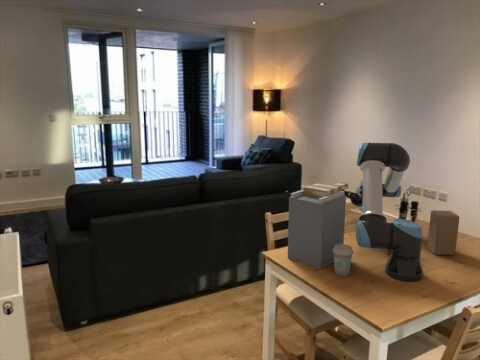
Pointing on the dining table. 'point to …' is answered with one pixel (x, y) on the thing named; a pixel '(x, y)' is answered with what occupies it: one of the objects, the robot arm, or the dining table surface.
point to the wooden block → (443, 232)
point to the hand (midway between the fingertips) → (344, 187)
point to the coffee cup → (342, 259)
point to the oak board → (323, 189)
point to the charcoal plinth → (315, 228)
